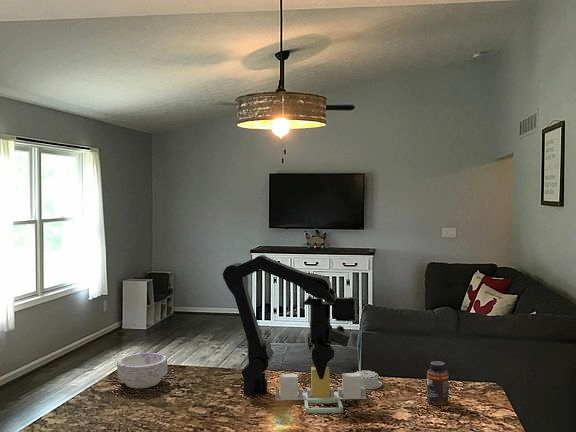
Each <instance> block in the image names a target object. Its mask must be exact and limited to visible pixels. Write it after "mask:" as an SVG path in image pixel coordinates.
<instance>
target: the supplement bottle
mask: <svg viewBox="0 0 576 432" xmlns="http://www.w3.org/2000/svg"><path fill="white" fill-rule="evenodd" d="M429 367H430V368H429V369H427V371H426V383H427V384H426V400H427V403H429V404H431V405H433V406H445V405H447V404H449V398H450V397H449V379H450V378H449V371H448V370H447V369H446V364H445V362H444V361H439V360H437V361H436V360H434V361H431V362H430V366H429Z"/></svg>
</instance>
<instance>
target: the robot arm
mask: <svg viewBox="0 0 576 432" xmlns="http://www.w3.org/2000/svg"><path fill="white" fill-rule="evenodd" d="M259 271H262V272H265V273H267V274H269V275H272V276H275V277H276V278H280V279H282V280H284V281H287V282H289V283H291V284H293V285H296V286H298V287H299V288H301V289H302V290H303V291H304V292H306V293H307V294H309V295H308V296H307V299H305V300H304V302H302V304H303V305H305V306H310V307H309V308H310V309H309V311H310V313H309V333H308V334H307V335H306V342H307V347H308V349H309V351H310V357H311V360H312V362H313V367H315V369H316V371H317V374H318V376H319V379H323V378H324V374H325V370H326V367H328V366H327V365H328V363H329V362H330V361H331V360H333V359H334V358H335V349H334V347H333V346H332V344H333V343H334V344H335V343H336V344H338V345H341V346H342V347H345V348H347V347H348V344H349V342H350V339H351V334H349V333H348V332H347V331H345V328H344V326H343V325H338V326H337V327H333V325H331V317H332V318H333V319H334V320H335V322H354V323H355V322H356V321H357V307H356V303H357V302H356V297H355V296H351V297H340V296H339V297H338V295H337V293H336V292H335V290H334V289H333V288H332V283H331V281H330V279H329V277H327V276H325V275H323V274H317V273H311V272H306V271H302V270H300V269H297V268H294V267H292V266H290V265H287V264H284V263H283V262H279V261H277V260H275V259H272V258H270V257H269V256H267V255H265V254H260V255H258V256H256V257H254V258H252V259H250V260H247V261H245V262H243V263H241V262H235V263H231V264H230V265H228V266H226V267H225V268H224V269H223V272H222V279H223V280H224V282H225V283H224V284H225V285H226V287H227V289H228V290H229V292H231V294H232V295H233V297H234V300H235V304H236V307H237V310H238V313H239V317H240V321H241V324H242V327H243V328H242V329H243V330H244V334H245V337H246V341H247V360H248V363H247V364H246V365H245V366H244V368H243V369H242V370H241V371H240V373H241V376H242V378H243V395H248V396H255V397H256V396H260V395H265V394H268V378H267V377H266V371H267V370H268V368H269V367H270V365H271V364H272V362H273V357H274V356H273V355H274V354H275V352H274V350H273V349H272V344H271V340H268V341H266V340H265V339H264V338H263V335H262V334H261V330H260V326H259V322H258V320H257V316H256V313H255V309H254V306H253V302H252V299H251V296H250V293H249V292H250V291H249V275H251V274H254V273H256V272H259Z"/></svg>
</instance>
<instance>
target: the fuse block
mask: <svg viewBox="0 0 576 432" xmlns="http://www.w3.org/2000/svg"><path fill="white" fill-rule="evenodd" d="M326 398H340V400H367V399H368V398H367V395H366V389H365V388H364V387H361V397H343V395H342V386H337V391H335V390H334V387H332V386H331V387H330V396H329V397H326ZM304 399H317V398H312V395H311V387H306V392H304V391H303V387H298V398H280V387H276V388H275V392H274V401H304Z"/></svg>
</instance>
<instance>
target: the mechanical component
mask: <svg viewBox="0 0 576 432" xmlns="http://www.w3.org/2000/svg"><path fill="white" fill-rule="evenodd" d="M355 373H359V374H360V375H361V387H364V388H365V390H375V389H379V388H381V387H382V386H383V382H382V381H380V380H379V374H378V373H377V372H375V371H371V370H363V369H362V370H357V371H356V372H355Z"/></svg>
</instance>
